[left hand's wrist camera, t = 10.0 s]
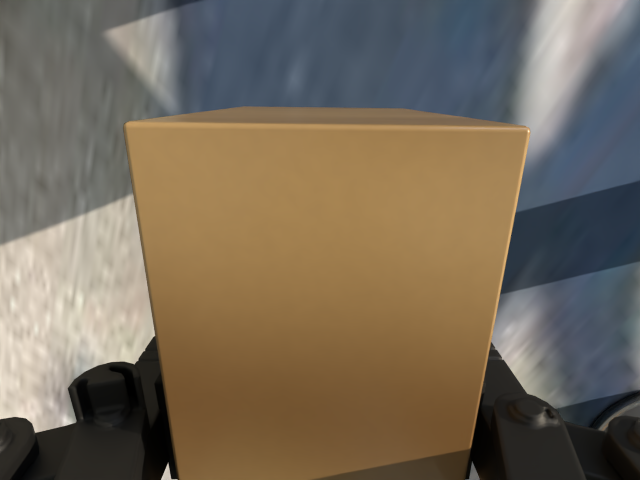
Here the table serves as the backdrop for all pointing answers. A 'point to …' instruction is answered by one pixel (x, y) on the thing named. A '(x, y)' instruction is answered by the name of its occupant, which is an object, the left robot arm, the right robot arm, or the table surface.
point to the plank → (323, 285)
